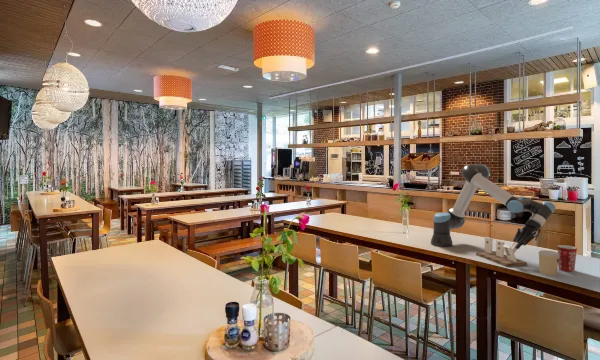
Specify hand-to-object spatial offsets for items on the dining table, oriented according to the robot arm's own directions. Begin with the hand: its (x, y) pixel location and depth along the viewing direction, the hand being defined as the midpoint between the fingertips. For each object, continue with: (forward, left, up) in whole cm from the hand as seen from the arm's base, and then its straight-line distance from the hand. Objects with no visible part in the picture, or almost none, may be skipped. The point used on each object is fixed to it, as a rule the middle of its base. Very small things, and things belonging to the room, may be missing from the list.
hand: (511, 251), depth 207 cm
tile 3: (0, 0, -6) cm, 6 cm away
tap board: (-10, +1, -8) cm, 13 cm away
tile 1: (-20, 0, -6) cm, 21 cm away
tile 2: (-10, 0, -6) cm, 12 cm away
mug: (+16, +21, -8) cm, 28 cm away
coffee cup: (+18, +7, -8) cm, 21 cm away
